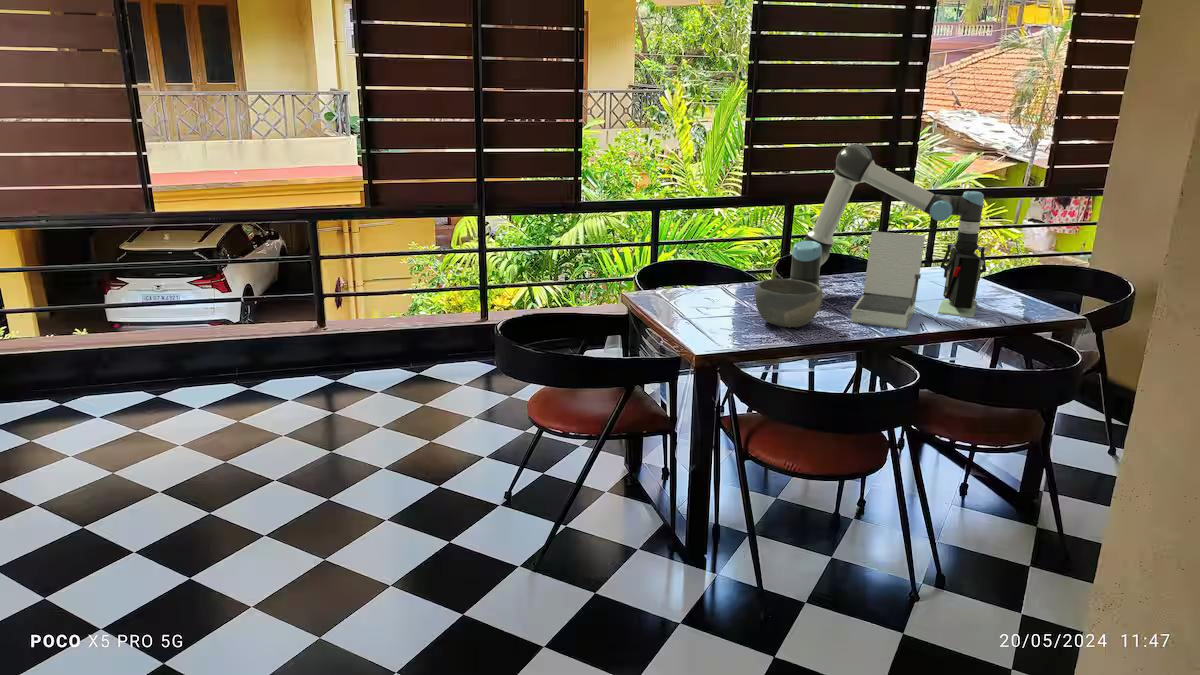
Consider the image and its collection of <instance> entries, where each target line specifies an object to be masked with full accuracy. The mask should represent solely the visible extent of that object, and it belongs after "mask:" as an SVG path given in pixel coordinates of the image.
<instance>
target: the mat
mask: <svg viewBox="0 0 1200 675" xmlns="http://www.w3.org/2000/svg"><path fill="white" fill-rule="evenodd" d="M976 308H977V305H976V306H973V307H972V308H971V309H967V308H955V307H954V306H953V305H952V303H951V302H950V301H949V299H946V298H944V299H943V298H942V300H941V302H940V306H939V307H938V310H937V314H940V315H941V314H942V315H950V316H958V317H963V318H964V317H965V318H974V316H975V312H976Z"/></svg>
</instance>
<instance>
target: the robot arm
mask: <svg viewBox="0 0 1200 675" xmlns="http://www.w3.org/2000/svg"><path fill="white" fill-rule="evenodd" d="M833 175H834V177H835V178H834V180H833V182H832V185H831V187H830V189H829V191H828V193H827V196H826V198H825V200H824V202H823V206H822V208H821V210H820V211H819V215H818V217H817V219H816V221H815V224H814V227H813V229H812V230H810V231H807V233H806V236H805V237H804V240H801V241H798V242H795V243H794V244H793V246H792V250H791V266H790V277H789V279H793V280H800V281H805V282H809V283H813V284H816V285H818V286H819V287H820V288H821V285H820V274H821V273H820V271H821V267H822V265H824V264H825V263H826V262H827V261H828V259H829V257H830V255H831V250H832V247H833V245H834V240H833V236H834V233H835V232H836V229H837V227H838V225H839V223H840V221H841V218H842V216H843V214H844V212H845V209H846V206H847V205H848V202H849V201H850V198H851V195H852V194H853V191H854V189H855V186H856V185H858V184H860V183H861V184H862V183H866V184H868V185H870V186H872V187H874V188H876V189H878V190H879V191H882V192H884V193H886V194H888V195H890V196H892V197H894V198H895V199H898V200H899V201H901V202H904V203H905V204H907V205H910V206H911V207H913V208H916V209H918V210H920V211H921V212H923V213H924V214H927V215H929V216H930V217H931V218H932V219H933V220H935V221H936V222H943V221H945V220H947V219H949V218H951V216H959V222H958V232H957V237H956V243H950V242H949V243H948V244H947V248H946V252H945V254H944V256H943V259H942V261H941V264H940V268H941V269H943V270H944V273H943V278H945V282H946V286H948V282H949V275H950V269H949V267H950V266H951V265H952V263H953V262H954V258H955V256H954V257H953V258H952V259H951V260H950V262H949V261H948V263H947V264H946V262H947V260H948V258H949V256H950V252H951V250H952V249H953V248H956V250H957V253H959V254H960V253H961V254H970V255H974V253H976V251H977V250H978V252H979V253H980V259H981V260H983V262H984V265H983V266H981V270H980V275H979V281H980V280H981V274H982V273H986V272H987V265H986V258H985V250H986V246H979V245H978V240H979V235H980V234H979V232H980V227H981V219H982V213H983V207H984V199H985V198H984V197H985V195H984V193H982V192H981V191H976V190H973V191H972V190H971V191H969V190H967V191H964V192H963V193H962V195H946V194H940V193H939V194H934V193H933V192H930V191H929V190H926V189H925V188H923V187H921V186H919V185H917V184H915V183H913V182H910V181H909V180H908V179H906V178H904V177H901V176H899V175H897V174H895V173H894V172H891V171H889V170H887V169H885V168H883V167H881V166H880V165H878V164H876V163H875V160H874V159H872V153H871V151H870V150H869V148H868V147H867V146H865V145H863V144H860V143H851V144H850V145H847V146H846V147H844V148H842V149H841V150H840V151H839V152H838V154H837V156H836V159H835V168H834V171H833ZM946 278H947V279H946Z"/></svg>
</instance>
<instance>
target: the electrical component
mask: <svg viewBox="0 0 1200 675" xmlns="http://www.w3.org/2000/svg"><path fill="white" fill-rule="evenodd" d="M954 256H955V258H954V262H953V263H952V265H951V266H950V267H949V269H950V275H949V282H948V286H946V281H945V283H944V290H943V294H942V296H943V298H944V299H945V300H949V301H950V302H951V303H952V305H953V306H954V307H955V308H967V309H971V308H972V307H973V306H976V307H977V305H978V302H977V300H976V297H977V296H976V295H977V291H978V286H979V282H980V280H979V275H980V270H981V269H982V266H983V265H984V262H983V260H981V257H979V256H978V254H977V252H974V255H970V254H961V253H960V254H959V253H957V250H956V248H955V247H953V249H952V250H951V251H950V253H949V257H948V258H949V260H948V263H949V262H950V260H951V259H952V258H953V257H954ZM980 276H981V275H980ZM946 279H947V278H945V280H946Z"/></svg>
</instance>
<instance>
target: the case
mask: <svg viewBox="0 0 1200 675" xmlns="http://www.w3.org/2000/svg"><path fill="white" fill-rule="evenodd" d="M870 237H871V238H870V244H869V251H868V256H867V258H868V259H867V265H866V272H865V281H864V286H863V293H862V295H861V297H860V298H859V299H858V300H857V301H856V303H855V304H854V306H853V307H852V308H851V312H850V323H855V324H856V323H857V324H863V325H873V326H879V327H888V328H894V329H902V330H906V329H907V328H908V325H909V323H910V321H911V318H912V317H913V315H914V313H915V306H916V301H917V293H918V286H919V282H920V281H919V280H920V279H921V277H922V274H921V266H922V260H923V252H924V246H925V239H926V235H919V234H909V233H907V234H906V233H897V232H896V233H895V232H886V231H885V232H884V231H874V230H873V231H871V236H870Z"/></svg>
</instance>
